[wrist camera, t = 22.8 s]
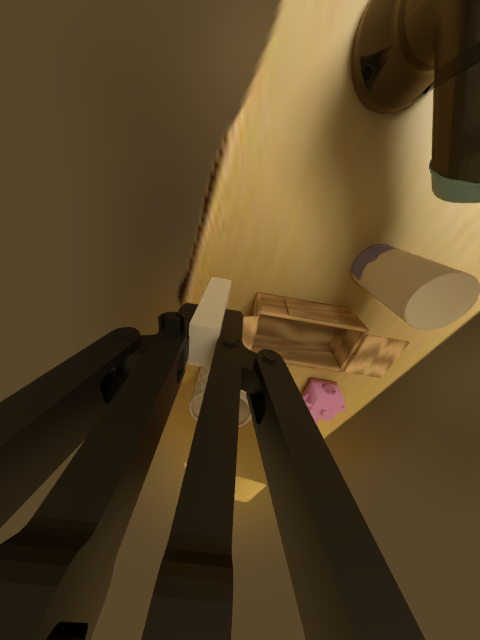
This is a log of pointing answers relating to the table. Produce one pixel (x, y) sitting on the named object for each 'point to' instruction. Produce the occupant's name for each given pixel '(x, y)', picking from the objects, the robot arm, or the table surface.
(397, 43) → the robot arm
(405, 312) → the container
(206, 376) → the planter
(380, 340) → the flap
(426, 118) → the table surface
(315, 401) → the teapot
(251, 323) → the flap
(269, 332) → the carton
